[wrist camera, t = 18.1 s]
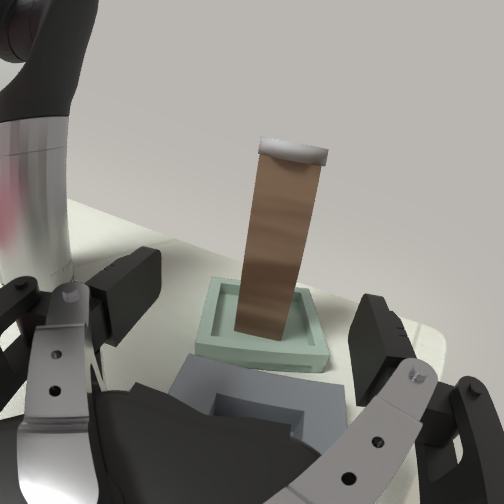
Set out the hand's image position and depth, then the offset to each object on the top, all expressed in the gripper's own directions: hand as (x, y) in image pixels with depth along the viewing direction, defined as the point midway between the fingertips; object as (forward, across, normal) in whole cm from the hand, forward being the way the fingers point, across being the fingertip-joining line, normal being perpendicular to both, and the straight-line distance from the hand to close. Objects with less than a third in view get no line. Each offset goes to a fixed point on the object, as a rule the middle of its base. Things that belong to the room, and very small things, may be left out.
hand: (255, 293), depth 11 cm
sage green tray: (+11, 0, +10) cm, 15 cm away
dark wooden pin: (+11, 0, +10) cm, 15 cm away
